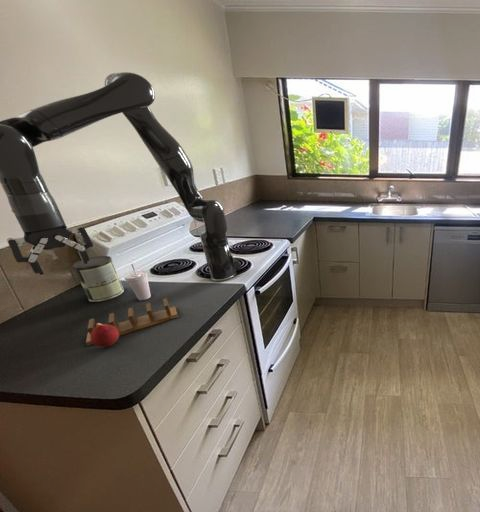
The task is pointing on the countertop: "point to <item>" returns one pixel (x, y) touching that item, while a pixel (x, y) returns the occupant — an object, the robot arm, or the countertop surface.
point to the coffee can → (99, 278)
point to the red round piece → (104, 335)
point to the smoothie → (139, 283)
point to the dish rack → (136, 320)
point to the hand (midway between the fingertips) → (64, 268)
